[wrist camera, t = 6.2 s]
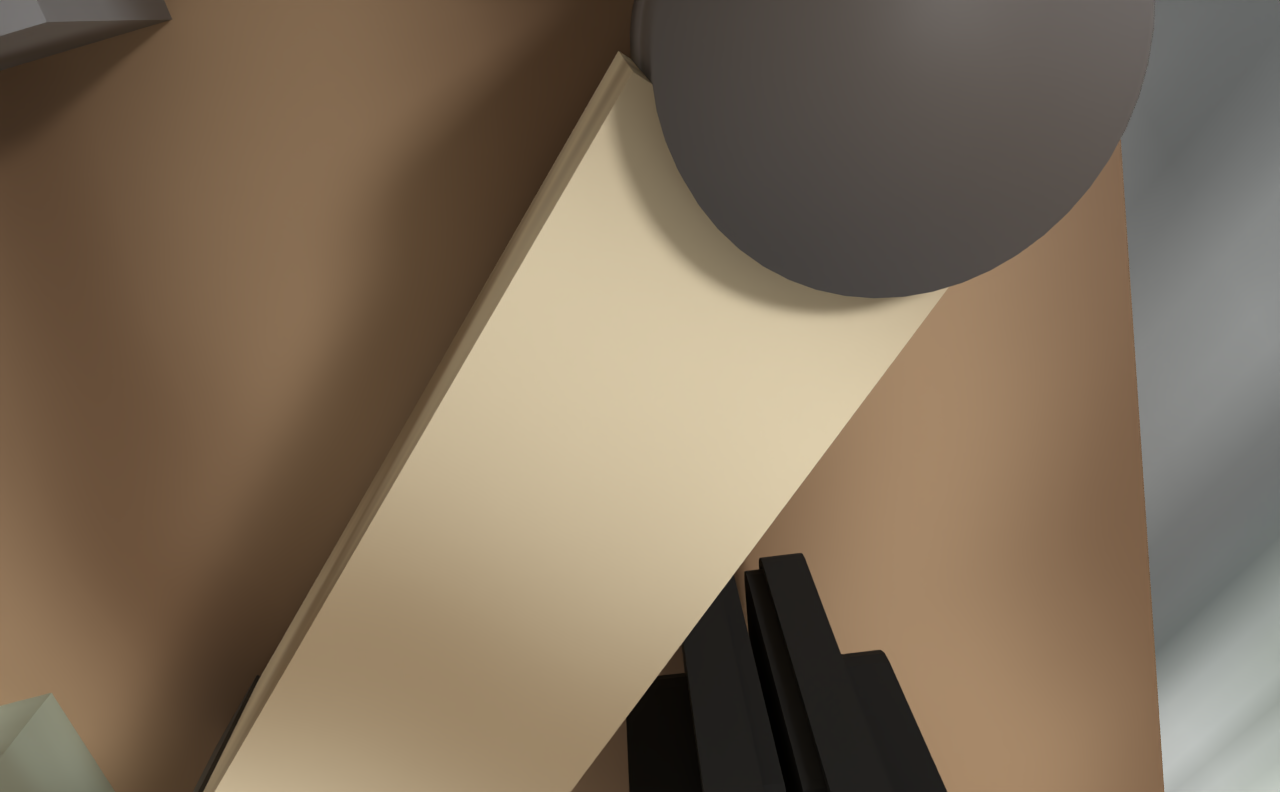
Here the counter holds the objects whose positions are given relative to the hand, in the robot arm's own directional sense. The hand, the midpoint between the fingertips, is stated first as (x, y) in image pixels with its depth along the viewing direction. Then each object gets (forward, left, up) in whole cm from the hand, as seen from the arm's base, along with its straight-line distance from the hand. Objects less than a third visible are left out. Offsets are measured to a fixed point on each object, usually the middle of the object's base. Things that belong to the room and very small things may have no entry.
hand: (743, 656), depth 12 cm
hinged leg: (+2, -4, -1) cm, 4 cm away
